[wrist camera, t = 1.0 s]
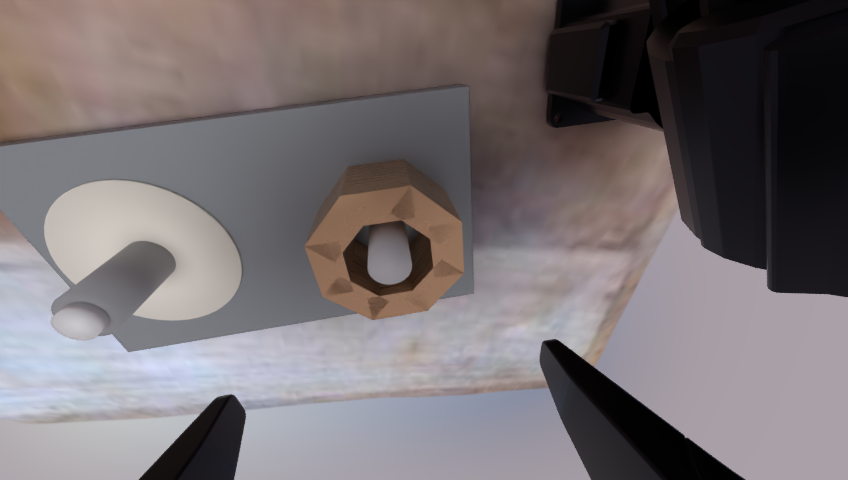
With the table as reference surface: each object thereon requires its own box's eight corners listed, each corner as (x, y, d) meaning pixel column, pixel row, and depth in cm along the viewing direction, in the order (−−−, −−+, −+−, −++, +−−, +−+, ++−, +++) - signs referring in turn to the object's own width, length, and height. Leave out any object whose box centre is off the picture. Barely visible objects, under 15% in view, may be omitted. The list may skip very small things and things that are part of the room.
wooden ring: (442, 153, 16) (459, 178, 13) (450, 261, 20) (465, 304, 16) (307, 172, 16) (288, 203, 12) (340, 279, 19) (333, 326, 16)
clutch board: (461, 84, 16) (507, 98, 10) (468, 280, 23) (498, 353, 17) (-14, 144, 15) (-258, 198, 9) (143, 334, 21) (59, 433, 16)
